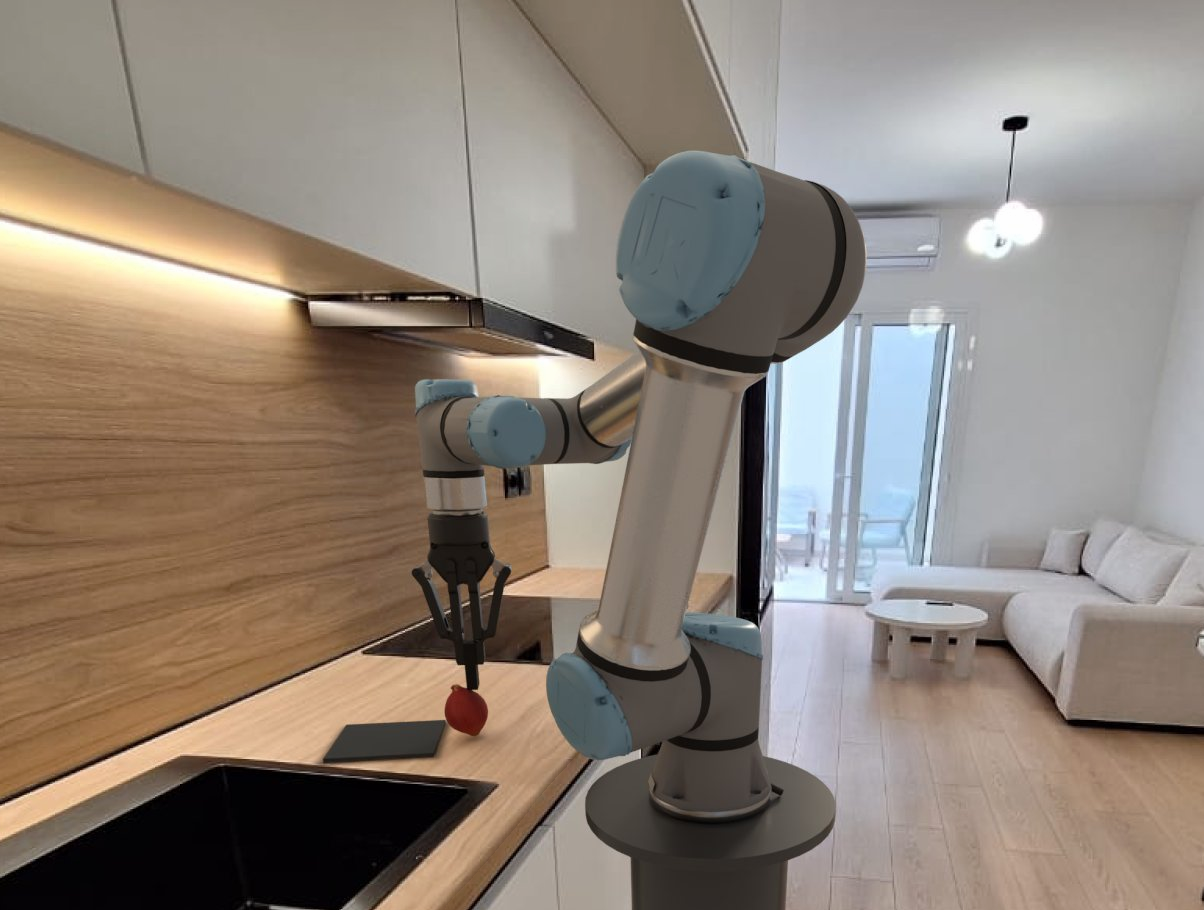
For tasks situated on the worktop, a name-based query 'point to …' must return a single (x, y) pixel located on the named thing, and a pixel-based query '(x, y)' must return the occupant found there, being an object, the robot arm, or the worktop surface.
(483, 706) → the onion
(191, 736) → the worktop surface
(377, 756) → the mat
